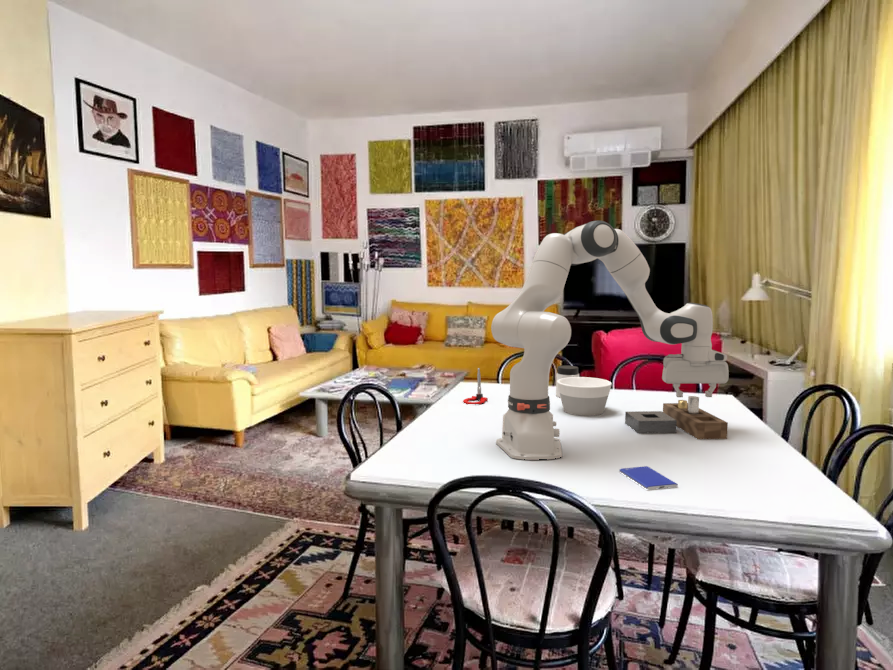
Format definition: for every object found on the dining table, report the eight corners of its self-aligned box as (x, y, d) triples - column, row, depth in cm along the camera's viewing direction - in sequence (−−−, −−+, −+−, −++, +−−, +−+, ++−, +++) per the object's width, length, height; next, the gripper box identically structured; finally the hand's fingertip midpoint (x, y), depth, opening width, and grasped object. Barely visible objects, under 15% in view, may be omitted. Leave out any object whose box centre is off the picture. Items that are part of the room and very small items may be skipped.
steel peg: (699, 428, 188) (700, 398, 187) (689, 428, 188) (691, 398, 187) (694, 426, 191) (696, 396, 190) (685, 426, 191) (686, 396, 190)
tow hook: (478, 407, 221) (490, 401, 228) (477, 373, 219) (489, 368, 227) (459, 404, 225) (471, 398, 233) (457, 371, 224) (470, 366, 231)
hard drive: (619, 468, 148) (646, 486, 136) (648, 465, 150) (677, 483, 138) (619, 474, 148) (646, 492, 136) (648, 471, 150) (677, 489, 138)
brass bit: (687, 422, 196) (688, 401, 196) (679, 422, 196) (680, 401, 196) (684, 420, 199) (684, 399, 198) (675, 420, 199) (676, 399, 198)
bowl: (582, 402, 226) (583, 375, 225) (622, 412, 210) (623, 383, 209) (545, 409, 215) (545, 380, 214) (584, 420, 199) (585, 389, 198)
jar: (563, 393, 242) (563, 364, 241) (581, 396, 237) (582, 366, 236) (552, 397, 235) (553, 367, 234) (571, 399, 230) (572, 369, 229)
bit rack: (726, 438, 177) (727, 422, 177) (697, 439, 177) (698, 423, 176) (688, 417, 203) (688, 403, 202) (662, 417, 203) (663, 403, 202)
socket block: (676, 433, 184) (676, 420, 183) (638, 433, 183) (638, 420, 183) (660, 423, 195) (661, 411, 195) (625, 423, 195) (625, 411, 195)
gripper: (667, 355, 183) (665, 399, 185) (732, 355, 184) (729, 398, 186) (659, 352, 190) (658, 395, 191) (722, 352, 190) (719, 394, 192)
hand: (693, 397), depth 188 cm, fingers open, 8 cm apart
